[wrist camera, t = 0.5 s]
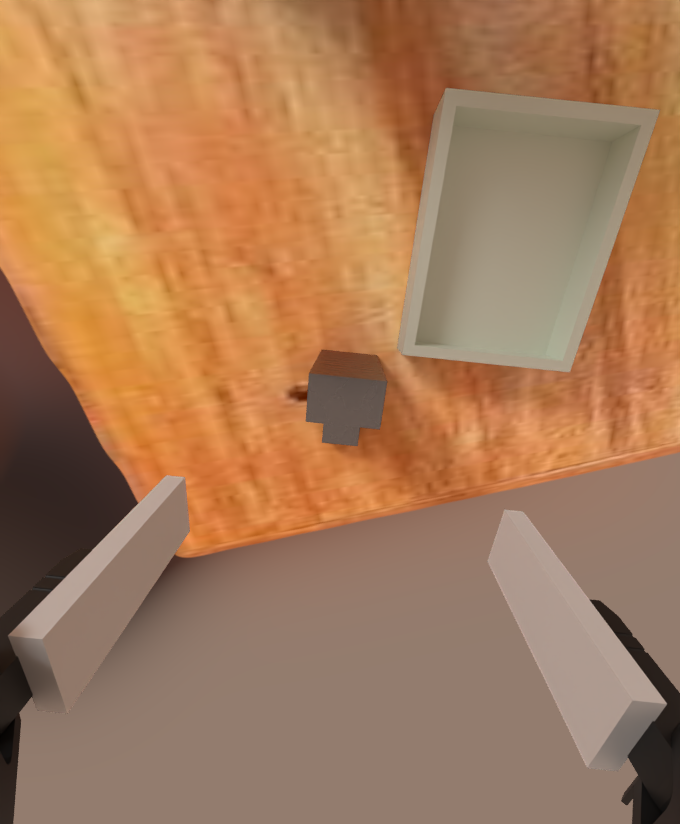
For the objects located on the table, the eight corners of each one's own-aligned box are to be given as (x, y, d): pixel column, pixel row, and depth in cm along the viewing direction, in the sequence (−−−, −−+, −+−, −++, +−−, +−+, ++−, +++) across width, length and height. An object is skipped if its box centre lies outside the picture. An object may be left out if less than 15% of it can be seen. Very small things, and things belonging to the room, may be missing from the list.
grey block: (321, 349, 36) (309, 373, 25) (377, 355, 36) (387, 381, 25) (315, 434, 39) (301, 485, 29) (365, 439, 39) (370, 492, 29)
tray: (433, 114, 28) (445, 87, 25) (619, 134, 28) (660, 109, 25) (397, 348, 35) (402, 354, 31) (546, 363, 35) (569, 372, 31)
